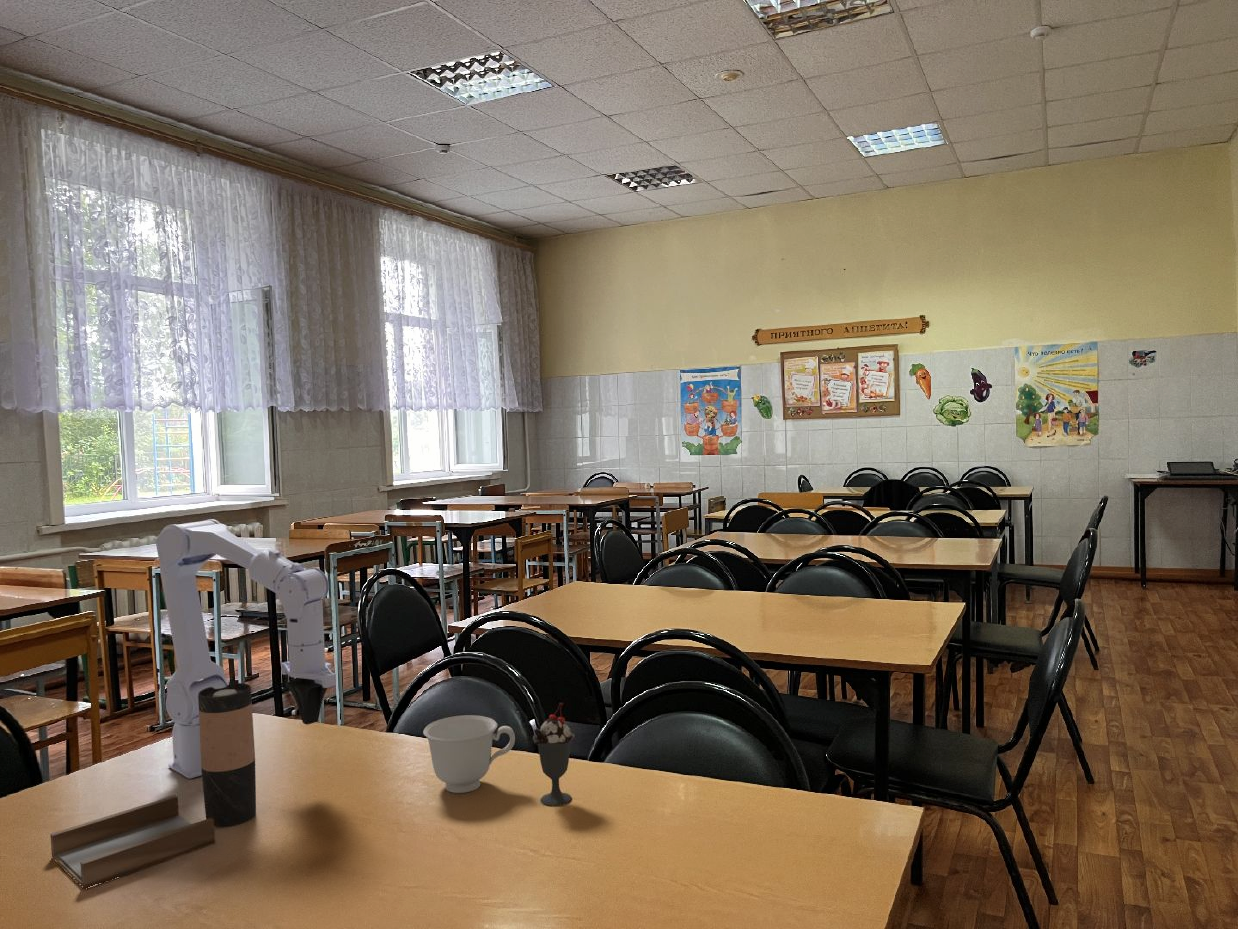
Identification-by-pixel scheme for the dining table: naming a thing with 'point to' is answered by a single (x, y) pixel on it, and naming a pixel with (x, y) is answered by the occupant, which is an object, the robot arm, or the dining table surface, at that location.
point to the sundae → (554, 755)
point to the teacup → (464, 749)
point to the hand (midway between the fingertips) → (310, 722)
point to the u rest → (128, 842)
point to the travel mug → (227, 754)
